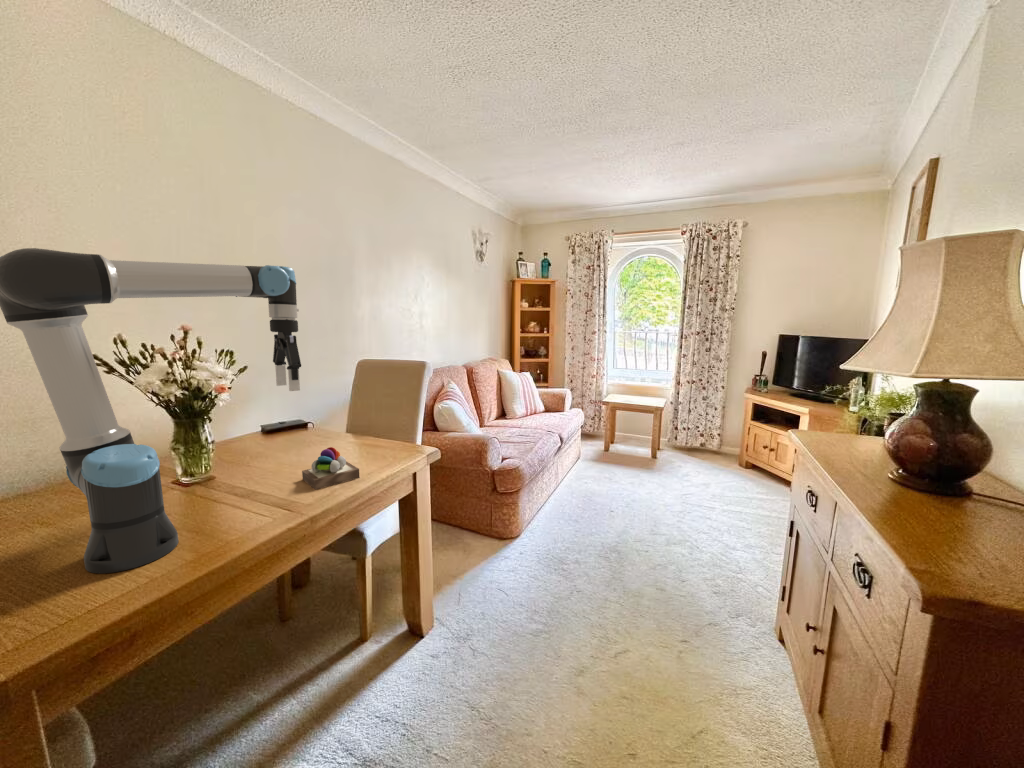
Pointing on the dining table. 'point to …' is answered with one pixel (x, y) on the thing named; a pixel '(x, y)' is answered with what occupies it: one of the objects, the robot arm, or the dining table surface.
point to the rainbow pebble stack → (329, 461)
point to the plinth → (330, 476)
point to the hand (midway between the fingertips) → (287, 388)
